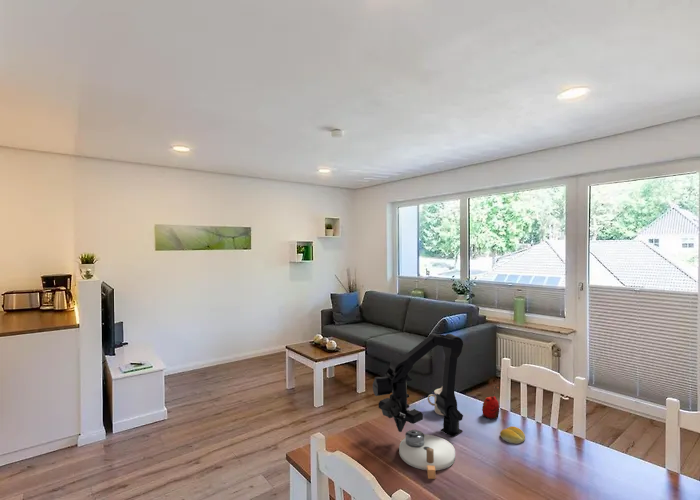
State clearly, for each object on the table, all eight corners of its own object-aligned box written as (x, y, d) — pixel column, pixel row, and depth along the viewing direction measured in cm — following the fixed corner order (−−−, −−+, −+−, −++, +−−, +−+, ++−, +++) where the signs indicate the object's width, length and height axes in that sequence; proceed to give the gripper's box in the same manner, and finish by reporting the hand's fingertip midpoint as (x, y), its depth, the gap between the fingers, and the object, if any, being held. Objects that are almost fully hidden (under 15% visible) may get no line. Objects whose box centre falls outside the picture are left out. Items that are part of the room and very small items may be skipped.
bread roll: (496, 437, 148) (496, 427, 148) (510, 431, 153) (510, 421, 152) (514, 447, 141) (514, 436, 141) (529, 440, 145) (529, 430, 145)
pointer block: (427, 474, 125) (427, 465, 125) (434, 474, 125) (434, 465, 125) (428, 478, 123) (428, 469, 123) (435, 478, 122) (435, 469, 122)
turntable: (397, 439, 147) (397, 423, 147) (449, 439, 146) (448, 424, 145) (401, 469, 127) (401, 452, 127) (461, 471, 126) (460, 453, 125)
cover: (404, 437, 144) (404, 426, 144) (423, 437, 144) (422, 427, 143) (406, 447, 137) (406, 436, 137) (425, 447, 137) (425, 436, 136)
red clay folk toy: (489, 411, 170) (489, 379, 170) (503, 417, 164) (503, 383, 164) (478, 416, 166) (478, 382, 166) (492, 422, 160) (492, 387, 160)
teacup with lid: (455, 408, 173) (454, 384, 173) (453, 417, 165) (453, 391, 165) (429, 405, 178) (428, 381, 177) (426, 413, 169) (425, 388, 169)
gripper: (368, 390, 148) (368, 429, 148) (403, 405, 134) (404, 448, 134) (388, 383, 155) (388, 420, 155) (423, 397, 141) (424, 438, 141)
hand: (400, 431), depth 146 cm, fingers closed
